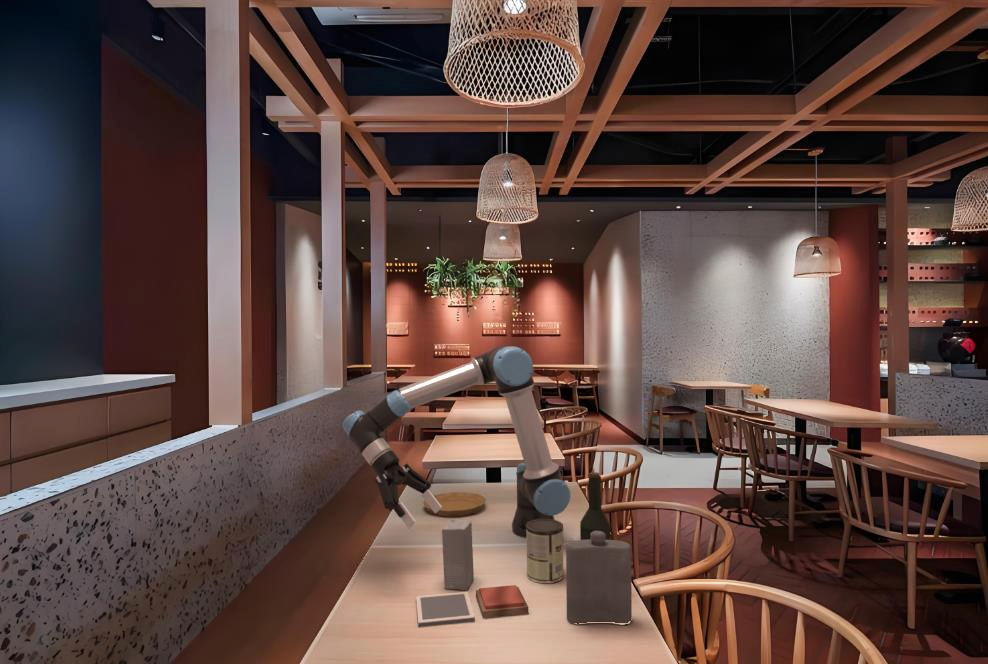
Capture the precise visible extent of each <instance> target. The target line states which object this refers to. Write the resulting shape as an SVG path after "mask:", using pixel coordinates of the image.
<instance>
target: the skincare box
mask: <svg viewBox="0 0 988 664" xmlns="http://www.w3.org/2000/svg"><path fill="white" fill-rule="evenodd" d="M472 524H473V523H472V520H449V521H448V523H446V524H444V526H443V527H442V529H441V535H442V536H441V538H442V539H441V541H442V557H443V559H442V561H443V562H442V564H443V581H444V582H443V585H444V587H443V588H444V589H447V590H460V591H468V589H469V587H470V586H471V584H472V582H473V581H474V578H475V574H474V573H475V572H474V552H473V550H474V549H473V528H472V527H473V526H472Z"/></svg>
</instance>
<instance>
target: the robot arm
mask: <svg viewBox="0 0 988 664" xmlns="http://www.w3.org/2000/svg"><path fill="white" fill-rule="evenodd" d="M533 373H534V363H533V359H532V358H531V356H530V355H529V353H527V351H526V350H524V349H523V348H520V347H518V346H514V345H513V346H511V345H509V346H507V345H505V346H503V345H502V346H500V345H499V346H497V347H494V348H492V349H489V350H488V351H486V352H484V353H482V354H479V355H477V356H474V357H472V358H471V360H470V361H469V362H468V363H464V364H462V365H459V366H457V367H453V368H451V369H449V370H446V371H443V372H441V373H440V372H439V373H438V374H435V375H432V376H430V377H426V378H424V379H421V380H418V381H416V382H414V383H411V384H408V385H406V386H403V387H400V388H398V389H395V390H391V391H389V392H383V393H380V394H379V396H377V398H376V399H375V402H374V406H373V407H371V408H370V410H368V411H366V412H364V411H362V410H356V411H354V412H353V413H351V414H349V415H348V416H346V418H345V419H344V421H343V422H342V429H343V430H344V432H345V433H346V435H347V437H348V439H349V440H350V441H351V443H352V444H353V445H354V447H356V449H357V450H358V452H360V454H361V455H362V456H363V458H364V459H365V460H366V463H368V465H369V466H371V469H372V471H373V472H374V473H375V475H376V477H375V478H374V482H376V485H377V486H378V490H379V492H380V496H381V500H382V504H383V506H384V508H385V509H386V510H389V512H392V511H393V510H394V512H395V514H396V515H397V516H398V517H399V518H400V519H401V521H402V522H403V523H404V524H405V526H406V527H407V529H410V528H412V526H413V525H414V524H416V522H417V520H416V519H415V518H414V516H413V515H412V514H411V512H410V511H409V509H408V508H407V507H406V506H405V504H404V503H403V502H402V501H401V502H400V500H399V491H398V486H401V485H402V486H408V487H409V488H411V489H413V490H415V491H417V492H419V493H420V494H421V498H423V501H424V500H425V501H426V502H427V503H428V505H429V506H430V507H431V509H432V510H433V511H434V513H437V512H438V511H439V510H440V509H441V508H442V506H441V505H440V503H439V502H438V501H437V500H436V498H435V496H434V495H435V494H434V493H432V491H431V490H430V488H431V487H432V483H431V482H430V481H428V480H427V479H426V478H424V477H423V476H422V475H420V474H419V473H418V472H416V471H415V470H414V469H413V468H412V467H411V466H410V465H409V464H408V463H405V464H404V465H403V466H401V465H400V458H399V457H398V456H397V454H396V453H395V451H393V450H392V448H391V446H390V445H389V444H388V443H387V441H386V440H385V438H383V436H382V435H381V434H383V433H384V432H385V431H387V429H388V428H389V427H391V426H392V425H394V423H396V422H398V421H399V420H400V419H401V418H403V417H404V416H405V415H406V414H407V413H409V411H410V410H412V409H415V408H417V407H420V406H422V405H426V404H429V403H430V402H433V401H435V400H438V399H442V398H444V397H446V396H449V395H452V394H455V393H457V392H459V391H462V390H465V389H467V388H468V389H469V388H470V387H473V386H475V385H481V386H484V385H486V384H489V383H495V387H496V388H497V389H496V390H497V392H498V394H499V395H500V396H502V397H503V398H505V401H506V405H507V409H508V411H509V415H510V419H511V422H512V426H513V428H514V432H515V435H516V438H517V442H518V446H519V449H520V453H521V456H522V458H523V462H521V463H519V464H517V466H516V472H515V474H516V510H515V513H514V516H513V520H512V523H511V531H512V533H513V534H514V535H517V536H519V537H523V538H526V523H527V522H529V521H531V520H535V519H552V520H556V519H555V516H557V515H559V514H561V513H563V512H564V511H565V510H566V509H567V507H568V506H569V503H570V501H571V490H570V487H569V486H568V484H567V483H566V482H565V480H563V477H562V472H561V470H560V467H559V464H557V463H556V462H553V461H552V456H551V453H550V448H549V446H548V443H547V439H546V436H545V433H544V429H543V425H542V422H541V419H540V416H539V411H538V408H537V405H536V401H535V398H534V395H533V391H532V389H533V387H534V386H535V381H534V380H535V379H534V378H533Z"/></svg>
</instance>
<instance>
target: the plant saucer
mask: <svg viewBox="0 0 988 664" xmlns="http://www.w3.org/2000/svg"><path fill="white" fill-rule="evenodd" d="M433 495H434V496H435V498H436V500H437V501H438V502H439V503H440V505H441V506H442V508H441V509H440V510H439V511H438V512H437V513H434V511H433V510H432V509H431V507H430V506H429V505H428V503H427V502H426V501H425V500H424V499H423V504H422V505H423V506H424V508H425V509H426V510H427V511H428V512H429V513H431V514H433V515H435V514H436V515H437V516H440V515H441V516H440V517H463V516H462V515H464V516H468V514H469V515H472V514H474V512H475V513H477V512H478V511H480V510H481V509H482V508H483V506H484V505H485V503H486V501H487V500H486V498H485V497H484V496H483V495H481V494H478V493H473V492H465V491H464V492H463V491H458V492H457V491H456V492H454V491H453V492H444V493H443V492H442V493H439V494H433ZM476 511H477V512H476Z"/></svg>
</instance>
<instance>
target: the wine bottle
mask: <svg viewBox="0 0 988 664" xmlns="http://www.w3.org/2000/svg"><path fill="white" fill-rule="evenodd" d="M579 523H580V524H579V528H580V530H579V531H580V533H579V537H580V539H579V540H590V533H591V532H593V531H602V532H604V533H605V534H606V540H612V539H611V532H612V531H611V530H612V529H611V522H610V521H609V519H608V517H607V515H606V514H605V512H604V510H603V509H602V476H601V475H600V473H599V472H597V471H595V472H589V475H588V509H587V510H586V512H585V514H584V515H583V517H582V518H581V520H580V521H579Z"/></svg>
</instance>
